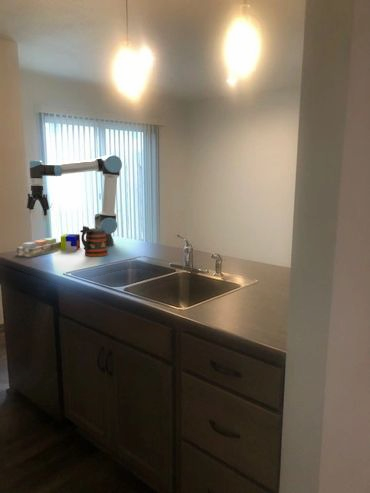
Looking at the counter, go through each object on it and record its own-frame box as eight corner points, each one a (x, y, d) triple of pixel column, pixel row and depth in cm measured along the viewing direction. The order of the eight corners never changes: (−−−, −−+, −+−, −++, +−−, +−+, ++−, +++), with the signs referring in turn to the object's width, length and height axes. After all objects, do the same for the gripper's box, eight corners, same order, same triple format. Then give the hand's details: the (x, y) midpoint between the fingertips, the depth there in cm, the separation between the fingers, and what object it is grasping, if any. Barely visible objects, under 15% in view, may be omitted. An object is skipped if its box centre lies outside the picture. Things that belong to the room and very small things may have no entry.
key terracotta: (46, 246, 254) (46, 240, 253) (40, 248, 248) (40, 242, 248) (39, 245, 256) (39, 239, 255) (33, 247, 251) (32, 241, 250)
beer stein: (92, 259, 235) (91, 227, 231) (75, 256, 242) (73, 225, 238) (112, 254, 251) (111, 224, 248) (95, 251, 258) (94, 222, 254)
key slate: (37, 248, 246) (36, 242, 245) (30, 250, 240) (29, 244, 240) (29, 248, 248) (29, 241, 247) (22, 249, 243) (22, 243, 242)
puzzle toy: (75, 251, 258) (75, 236, 256) (61, 250, 258) (60, 236, 256) (80, 248, 268) (79, 234, 266) (66, 248, 268) (65, 234, 266)
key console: (61, 249, 263) (61, 242, 263) (31, 257, 238) (31, 249, 237) (48, 247, 268) (47, 240, 267) (17, 255, 243) (16, 247, 242)
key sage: (56, 244, 262) (56, 238, 261) (50, 245, 257) (49, 239, 256) (49, 243, 264) (49, 237, 264) (43, 244, 259) (42, 239, 258)
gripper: (19, 184, 245) (21, 219, 249) (46, 185, 237) (47, 221, 241) (28, 184, 252) (30, 218, 256) (54, 185, 244) (55, 220, 248)
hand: (38, 219), depth 249 cm, fingers open, 9 cm apart
